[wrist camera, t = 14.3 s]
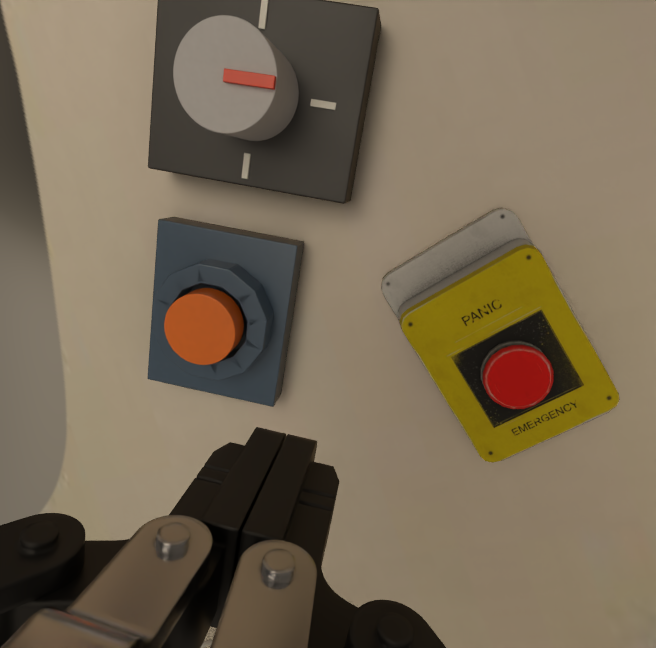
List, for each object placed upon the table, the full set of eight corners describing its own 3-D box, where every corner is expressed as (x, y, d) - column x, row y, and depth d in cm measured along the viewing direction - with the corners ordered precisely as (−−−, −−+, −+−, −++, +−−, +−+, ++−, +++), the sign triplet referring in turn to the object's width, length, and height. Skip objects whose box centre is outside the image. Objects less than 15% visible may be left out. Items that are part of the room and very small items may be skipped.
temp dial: (207, 134, 29) (166, 124, 24) (215, 37, 28) (173, 5, 23) (292, 147, 29) (268, 140, 24) (304, 49, 27) (282, 20, 22)
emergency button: (498, 499, 31) (371, 294, 29) (487, 461, 36) (375, 280, 33) (650, 434, 29) (523, 204, 27) (619, 402, 33) (507, 201, 31)
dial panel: (181, -6, 30) (157, -26, 27) (381, 24, 29) (378, 6, 26) (169, 168, 33) (145, 167, 30) (350, 201, 32) (344, 204, 29)
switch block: (173, 216, 34) (143, 221, 30) (304, 241, 33) (291, 249, 29) (161, 367, 37) (133, 389, 33) (281, 394, 36) (266, 419, 33)
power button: (179, 281, 31) (166, 287, 30) (248, 295, 31) (239, 301, 29) (173, 347, 33) (161, 356, 31) (239, 362, 32) (230, 372, 31)
